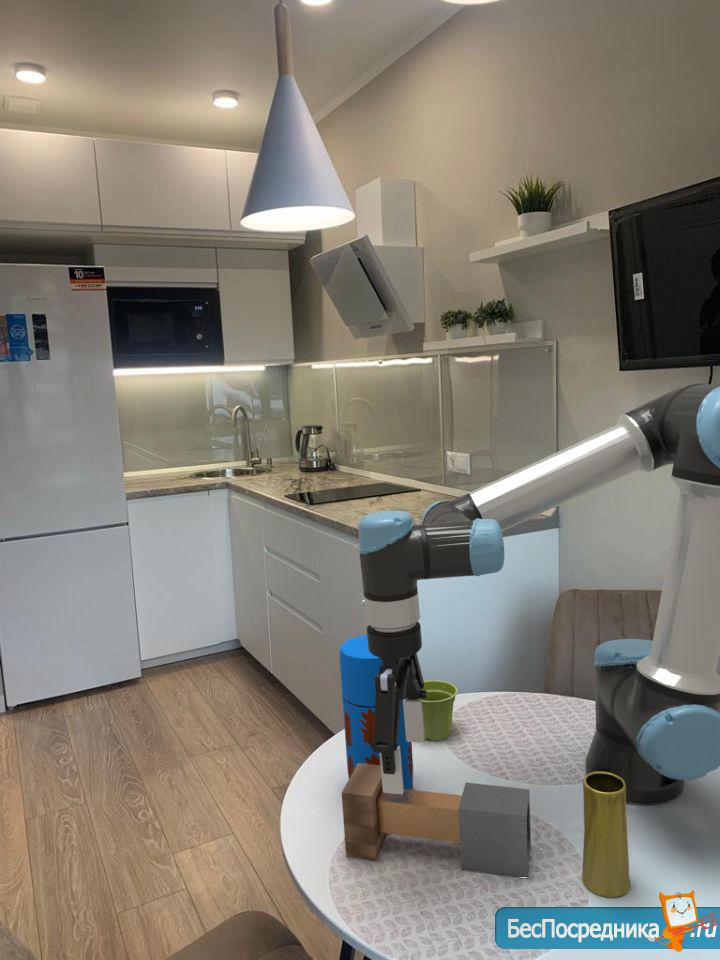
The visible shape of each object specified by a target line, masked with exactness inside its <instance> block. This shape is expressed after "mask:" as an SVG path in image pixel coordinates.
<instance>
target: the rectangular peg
mask: <svg viewBox="0 0 720 960" xmlns="http://www.w3.org/2000/svg"><path fill="white" fill-rule="evenodd" d="M461 797H462V794H453V793H444V792H435V791H427V790H426V791H425V790H419V789H413V790H411V789H404V792H403V794H392V793H383V788H382V787H381V789H380V791H379V793H378V795H377V797H376V812H377V828H378V832H380V833H387V835H388V834H389V835H396V836H403V837H411V838H416V839H417V838H419V839H426V840H433V841H441V842H448V843H457V844H460V832H459V811H458V808H459V804H460V801H461Z"/></svg>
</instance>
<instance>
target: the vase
mask: <svg viewBox="0 0 720 960" xmlns="http://www.w3.org/2000/svg"><path fill="white" fill-rule="evenodd" d="M582 788H583V789H582V790H583V791H582V792H583V794H582V795H583V828H584V832H583V852H582V872H581V881H582V883H583V884H584V886H585V887H586V888H587V889H588V890H589V891H591V892H592V893H594V894H596V895H599V896H601V897H605V898H617V897H621V896H622V897H623V896H624V895H626V894H627V893H628V892H629V891H630V890H631V889H630V888H631V883H632V882H631V879H630V863H629V862H630V861H629V859H630V858H629V843H628V825H627V802H626V785H625V782H624V780H623V779H622V778H621V777H619V776H617V775H615V774H613V773H609V772H603V771H597V772H592V773H589V774H587V775H586V774H585V776H584V777H583V781H582Z"/></svg>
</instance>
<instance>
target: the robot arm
mask: <svg viewBox="0 0 720 960" xmlns="http://www.w3.org/2000/svg"><path fill="white" fill-rule="evenodd" d="M668 465H672V470H671V476H670V478H671V479H672V481H673V482H674V484H675V485H676V486H677V488H678V489H679V498H678V503H677V509H676V514H675V519H674V524H673V530H672V535H671V540H670V541H671V542H670V547H669V551H668V557H667V563H666V568H665V573H664V578H663V584H662V589H661V593H660V601H659V605H658V611H657V616H656V621H655V628H654V633H653V639H652V640H649V639H641V638H624V639H623V638H622V639H621V638H620V639H612V640H608V641H605V642H602V643H600V644H599V645H598V646H597V647H596V649H595V651H594V662H593V667H594V695H595V696H594V699H595V701H594V702H595V704H594V705H595V732H594V734H593V736H592V740H591V743H590V746H589V747H588V748H589V749H588V752H587V753H586V757H585V763H584V764H585V776H586V775H587V774H589V773H592V772H597V771H603V772H609V773H613V774H615V775H617V776H619V777H621V778H622V779H623V780H624V782H625V785H626V804H627V803H628V804H635V805H646V806H647V805H660V804H664V803H668V802H671V801H674V800H675V799H676V798H678V797H679V796H680V795H681V794H682V793H683V791H684V788H685V781H690V780H696V779H700V778H702V777H705V776H707V774H708V773H710V772H713V771H716V770H717V769H718V768H719V767H720V675H719V674H718V672H717V667H718V664H719V663H718V662H719V657H720V383H718V384H717V383H714V384H713V383H692V384H686V385H684V386H681V387H678V388H675V389H672V390H670V391H668V392H666V393H664V394H662V395H660V396H658V397H656V398H654V399H652V400H650V401H648V402H646V403H644V404H642V405H640V406H638V407H635V408H634V409H632V410H630V411H627V412H625V413H623V414H621V415H620V416H618V420H617V422H616V424H615V425H614V426H611V427H608V428H607V429H604V430H602V431H600V432H598V433H596V434H594V435H591V436H589V437H587V438H585V439H583V440H580V441H578V442H576V443H574V444H572V445H569V446H567V447H565V448H563V449H561V450H559V451H557V452H554V453H551V454H550V455H547V456H546V457H544V458H541V459H539V460H537V461H535V462H533V463H531V464H528V465H526V466H523V467H522V468H520V469H518V470H516V471H514V472H511V473H509V474H507V475H505V476H502V477H500V478H499V479H495V480H494V481H492V482H490V483H488V484H485V485H483V486H481V487H479V488H477V489H474V490H472V491H470V492H468V493H466V494H464V495H460V496H458V497H455V498H454V499H453V500H439V501H436V502H433V503H432V504H431V505H429V506H428V507H427V508H426V509H425V511H424V513H423V514H422V518H421V524H415V523H414V521H413V517H412V515H411V513H409V512H407V511H404V510H403V511H402V510H382V511H377V512H372V513H369V514H366V515H364V516H363V517H362V518H361V519H360V521H359V522H358V549H359V551H358V552H359V561H360V562H359V563H360V570H361V571H360V573H361V581H362V589H363V590H362V591H363V599H362V600H361V602H360V604H361V606H362V607H364V608H365V621H366V623H367V625H368V626H367V627H366V635H367V639H368V649H369V652H370V653H371V654H372V655H374V656H377V657H379V658H380V659H381V660H382V662H383V663H382V666H381V667H380V673H379V674H376V675H375V691H376V694H375V717H374V740H373V744H372V749H373V751H374V752H376V753H379V754H380V765H381V777H382V788H383V793H392V794H403V792H404V788H403V777H402V765H401V753H400V746H398V745H397V743H398V732H399V721H400V711H401V701H402V700H403V699H404V698H405V697H407V698H408V699H404V700H403V708H404V720H405V732H406V742H412V743H422V744H423V743H425V741H426V739H425V737H424V725H423V712H422V700H419V698H426V696H427V692H426V691H425V690H421V689H423V688H424V681H425V680H424V677H423V674H422V673H423V672H422V670H421V665H420V661H419V657H418V652H420V650H421V649H422V647H423V641H422V640H423V639H422V627H421V623H420V619H421V613H420V612H421V611H420V601H419V592H418V581H420V580H421V581H422V580H435V579H445V578H446V579H448V578H462V577H474V576H475V577H480V576H482V575H489V574H490V575H491V574H494V573H498V572H500V571H501V570H502V569H503V567H504V564H505V543H504V536H503V531H505V530H508V529H510V528H512V527H514V526H516V525H519V524H521V523H524V522H525V521H528V520H530V519H532V518H534V517H537V516H539V515H541V514H543V513H545V512H548V511H550V510H552V509H555V508H556V507H559V506H561V505H563V504H565V503H566V504H567V503H568V502H569V501H572V500H574V499H577V498H579V497H581V496H583V495H586V494H588V493H589V492H592V491H594V490H596V489H600V488H601V487H603V486H606V485H607V484H609V483H612V482H614V481H617V480H619V479H621V478H623V477H625V476H628V475H630V474H631V473H634V472H637V471H638V470H640V471H642V472H645V473H650V472H653V471H655V470H657V469H659V468H661V467H665V466H668Z"/></svg>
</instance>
